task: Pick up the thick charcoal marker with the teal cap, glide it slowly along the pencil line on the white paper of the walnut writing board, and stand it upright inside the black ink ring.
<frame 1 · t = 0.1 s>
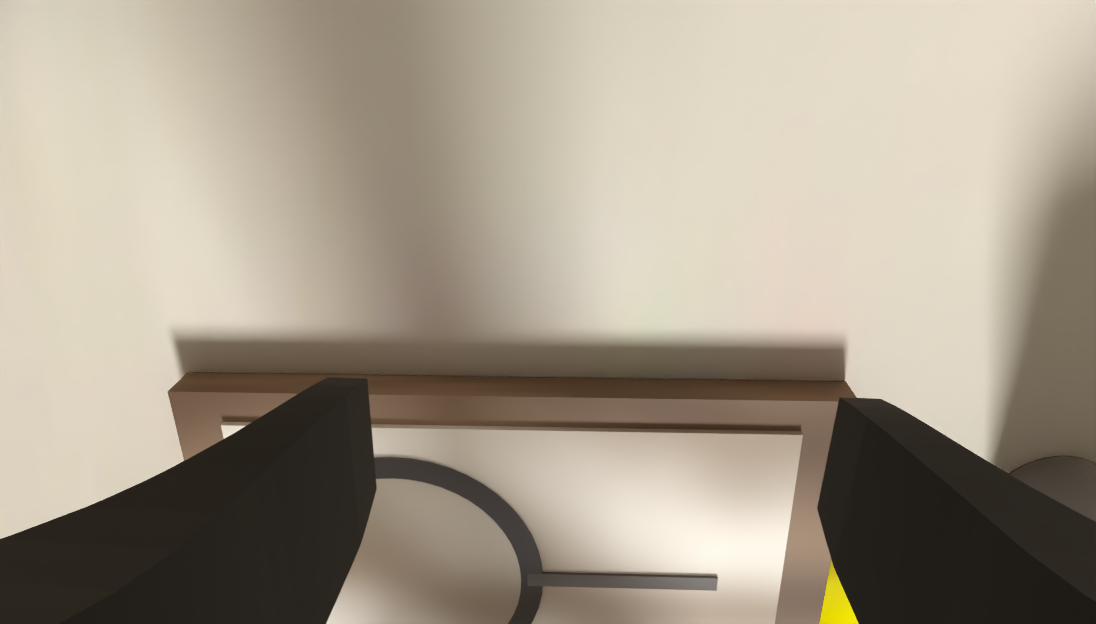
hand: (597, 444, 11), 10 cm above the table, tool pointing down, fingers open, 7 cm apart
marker: (1048, 509, 23), on the table
writing board: (515, 547, 25), on the table
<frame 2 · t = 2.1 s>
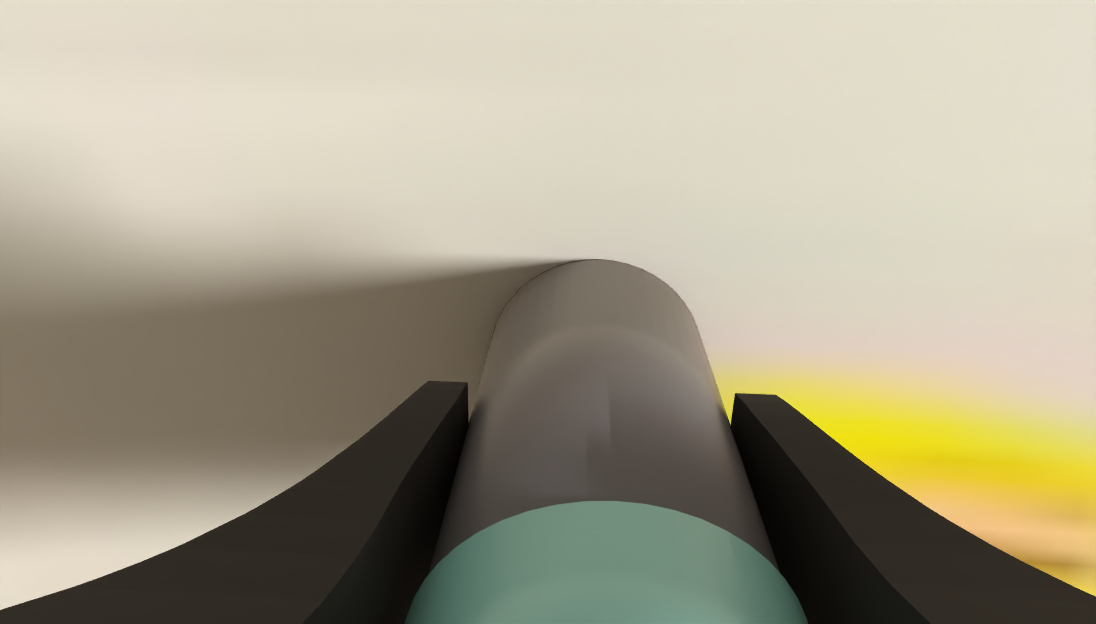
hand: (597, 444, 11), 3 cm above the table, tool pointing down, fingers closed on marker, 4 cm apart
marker: (595, 359, 14), on the table, touching gripper
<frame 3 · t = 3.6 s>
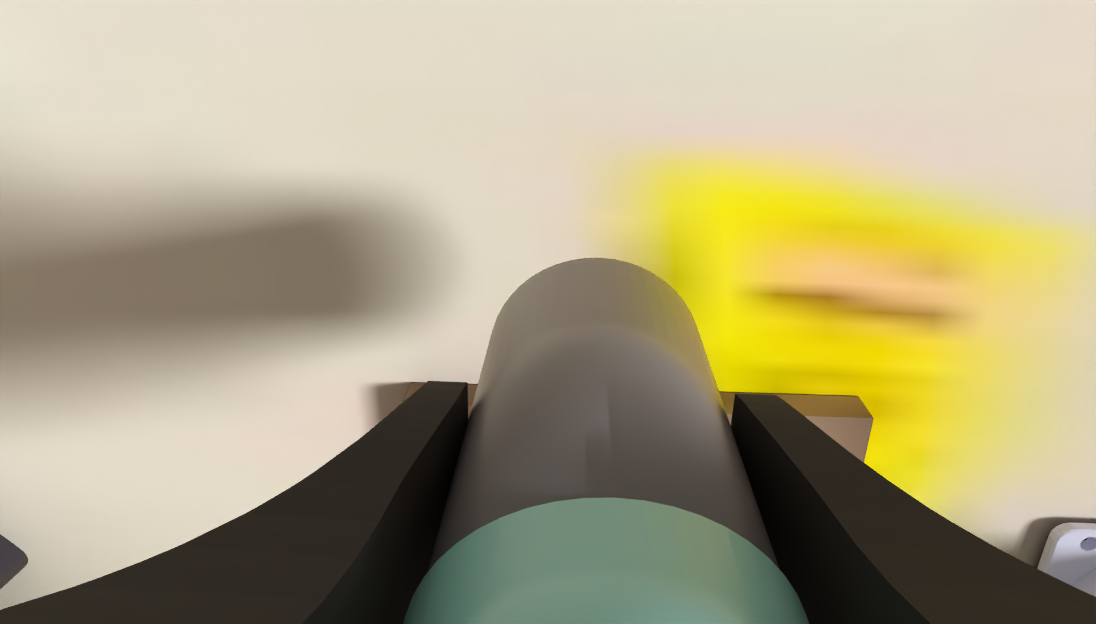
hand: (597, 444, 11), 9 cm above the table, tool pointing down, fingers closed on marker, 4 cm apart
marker: (594, 357, 14), point 6 cm above the table, touching gripper
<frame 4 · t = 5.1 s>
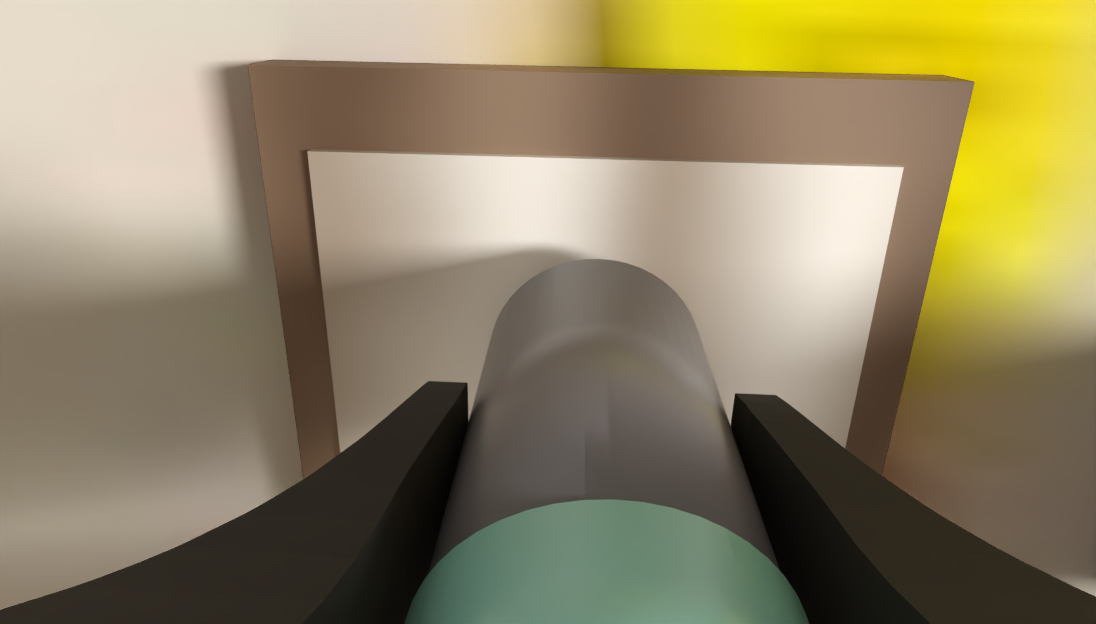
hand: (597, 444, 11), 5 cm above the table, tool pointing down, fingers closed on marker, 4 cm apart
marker: (594, 358, 14), point 2 cm above the table, touching gripper
writing board: (584, 491, 18), on the table
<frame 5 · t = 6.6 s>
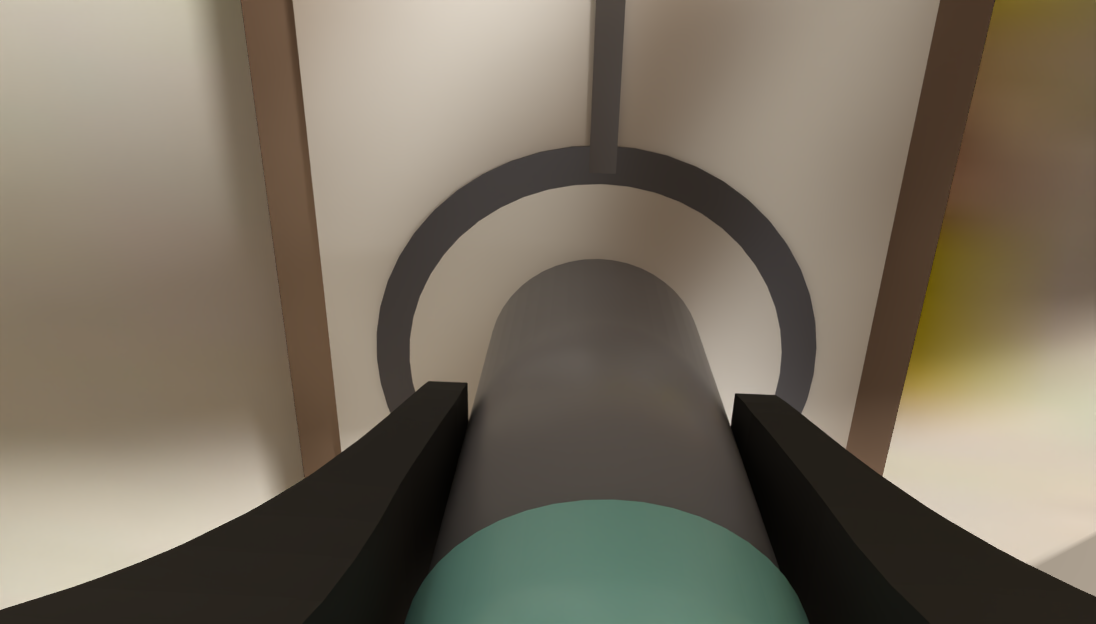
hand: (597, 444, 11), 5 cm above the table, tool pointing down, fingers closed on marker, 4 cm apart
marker: (594, 358, 14), point 2 cm above the table, touching gripper
writing board: (599, 181, 15), on the table
when the fingers open (5 cm above the table, at t = 8.0 s): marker stays where it is, resting on writing board.
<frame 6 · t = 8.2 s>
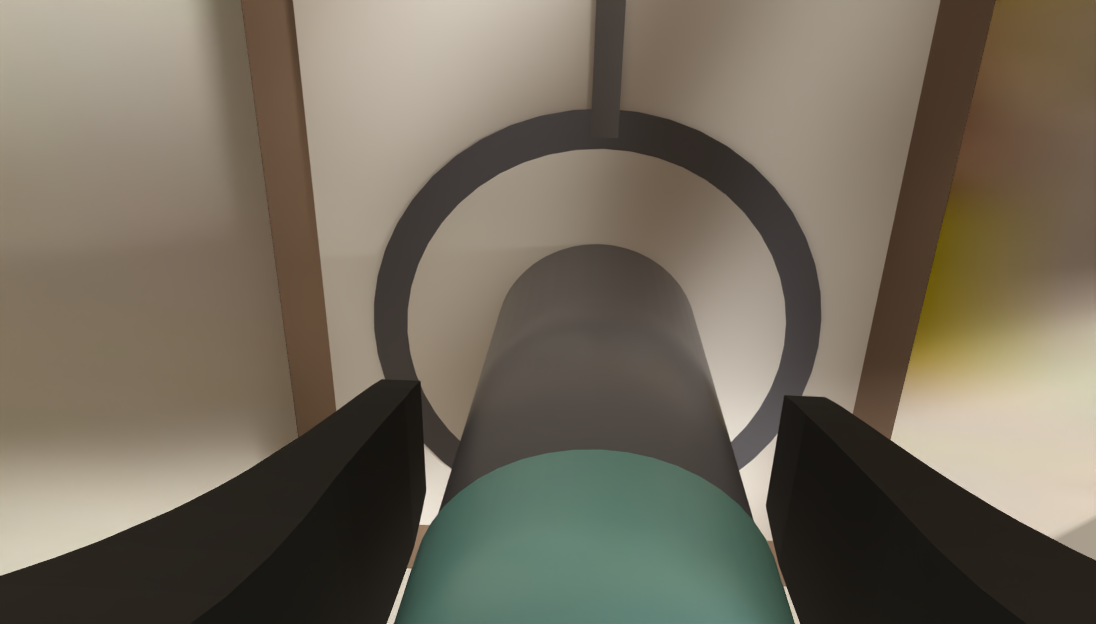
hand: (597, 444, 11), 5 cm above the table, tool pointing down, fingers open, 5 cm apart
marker: (595, 338, 15), point 2 cm above the table, touching writing board
writing board: (601, 149, 15), on the table
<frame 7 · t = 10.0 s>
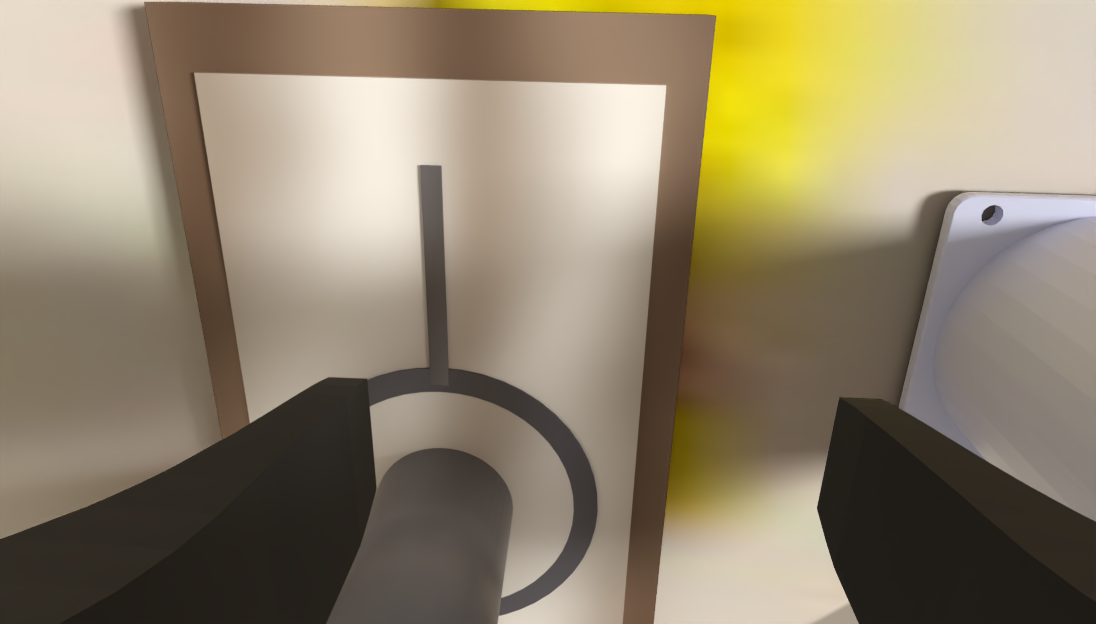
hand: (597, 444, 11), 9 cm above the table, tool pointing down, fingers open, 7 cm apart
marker: (444, 505, 22), point 2 cm above the table, touching writing board
writing board: (449, 375, 22), on the table
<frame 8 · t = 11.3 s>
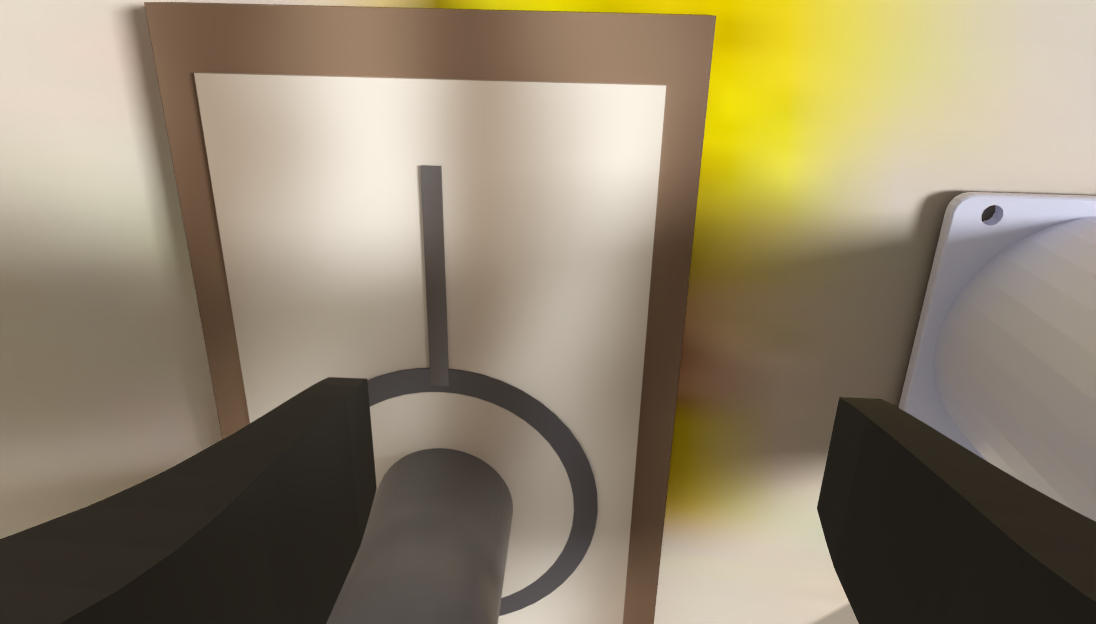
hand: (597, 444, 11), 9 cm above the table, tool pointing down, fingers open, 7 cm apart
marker: (445, 505, 22), point 2 cm above the table, touching writing board
writing board: (449, 375, 22), on the table
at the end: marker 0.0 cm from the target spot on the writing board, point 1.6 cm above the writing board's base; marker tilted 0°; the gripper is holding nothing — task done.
